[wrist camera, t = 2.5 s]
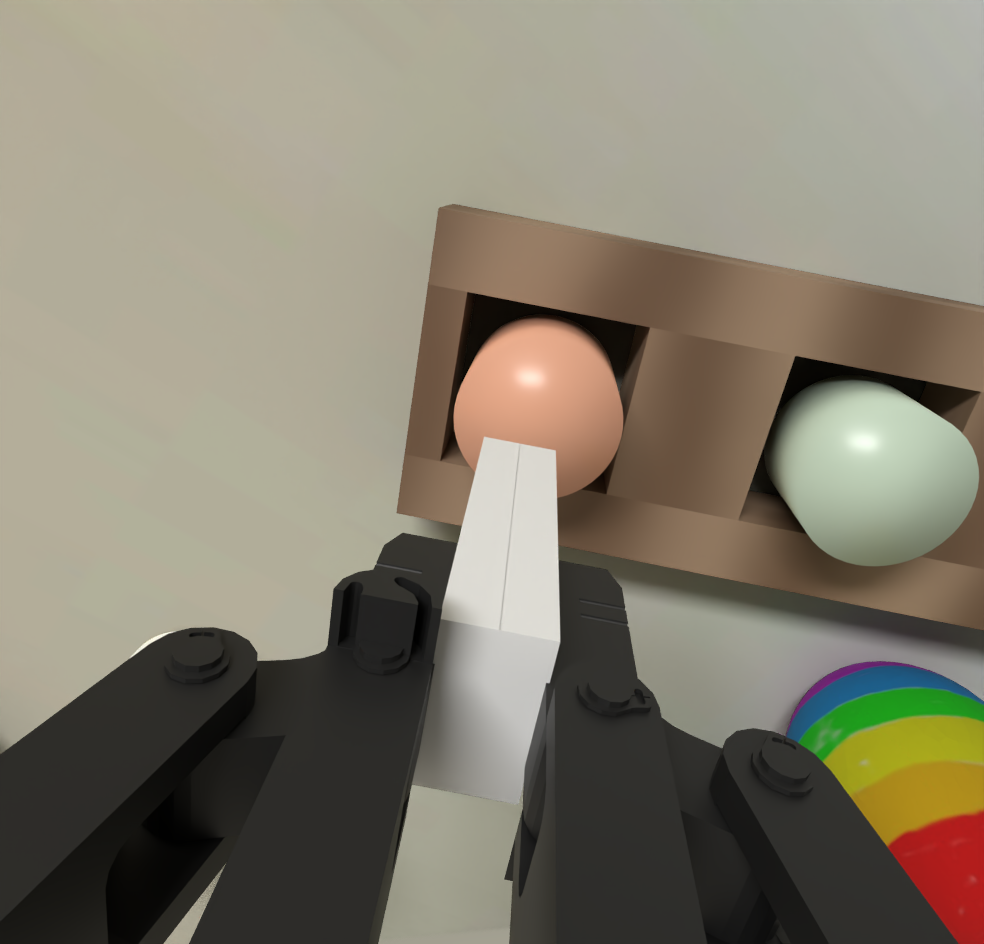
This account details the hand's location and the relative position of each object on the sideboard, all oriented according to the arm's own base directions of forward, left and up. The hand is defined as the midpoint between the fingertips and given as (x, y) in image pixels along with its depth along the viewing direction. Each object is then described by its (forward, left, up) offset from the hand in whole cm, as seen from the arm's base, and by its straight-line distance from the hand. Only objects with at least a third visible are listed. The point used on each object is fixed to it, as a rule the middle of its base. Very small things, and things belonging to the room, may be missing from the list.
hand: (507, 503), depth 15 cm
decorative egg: (-16, +12, -12) cm, 23 cm away
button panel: (-10, 0, -11) cm, 15 cm away
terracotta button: (-1, 0, -9) cm, 9 cm away
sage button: (-10, 0, -9) cm, 14 cm away
